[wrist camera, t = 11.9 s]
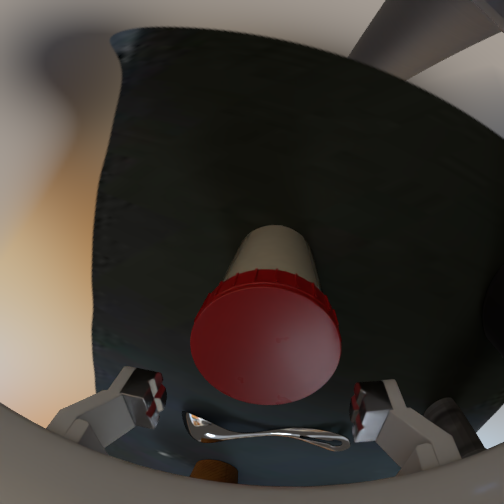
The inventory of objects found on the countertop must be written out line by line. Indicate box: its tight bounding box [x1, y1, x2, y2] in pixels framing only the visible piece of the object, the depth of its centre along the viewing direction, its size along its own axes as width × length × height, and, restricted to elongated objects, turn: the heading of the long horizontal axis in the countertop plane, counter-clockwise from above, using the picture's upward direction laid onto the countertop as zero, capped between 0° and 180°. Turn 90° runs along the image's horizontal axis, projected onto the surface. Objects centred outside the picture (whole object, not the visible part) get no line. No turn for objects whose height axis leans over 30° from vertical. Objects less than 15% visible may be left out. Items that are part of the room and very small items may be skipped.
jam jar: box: [222, 225, 323, 293], centre depth 18 cm, size 6×6×11 cm
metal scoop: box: [182, 411, 351, 451], centre depth 28 cm, size 20×4×5 cm
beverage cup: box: [423, 397, 487, 459], centre depth 17 cm, size 7×7×20 cm
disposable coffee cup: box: [190, 460, 238, 484], centre depth 28 cm, size 10×10×12 cm
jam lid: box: [190, 268, 342, 405], centre depth 13 cm, size 7×7×2 cm
